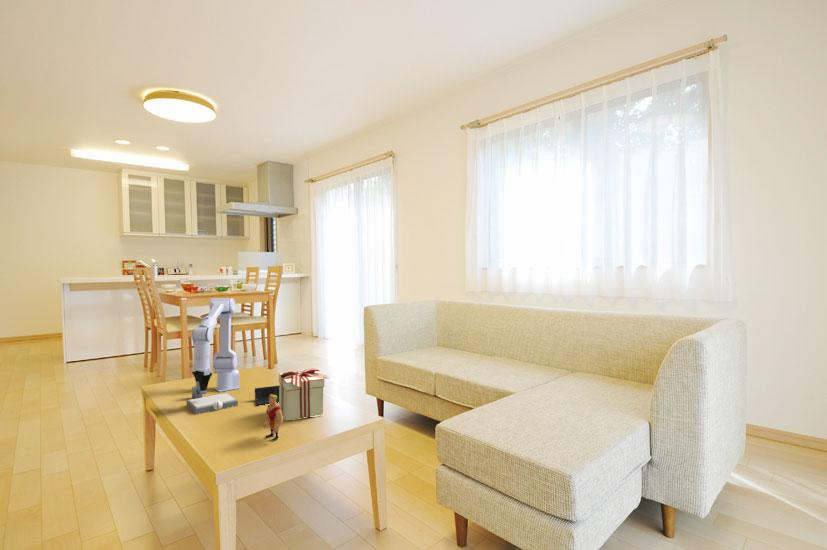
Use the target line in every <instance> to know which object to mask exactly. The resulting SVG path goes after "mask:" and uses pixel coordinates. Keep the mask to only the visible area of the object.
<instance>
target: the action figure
mask: <svg viewBox="0 0 827 550" xmlns="http://www.w3.org/2000/svg"><path fill="white" fill-rule="evenodd" d="M276 398H277V396H276V395H272V394H270V396H269V404H270V405H267V407H266V410H265V411H266V415H265V420H264V422H263V426H262V428H263V429H267V428H269V430H270V434H267V435H265V436H266V437H265V438H268V437H267V436H270V437H273V438H272V439H271V441H272V440H275V439H277V438H278V439H279V436H278V435H279V430H280V427H281V425H282V424H283V422H284V417H283V416H282V412H281V408H280V407H279V404H277V403H276ZM276 419H277V420H278V421H277V425H276ZM268 421H269V427H268ZM273 435H274V436H273ZM278 439H277V440H278ZM275 441H276V440H275Z"/></svg>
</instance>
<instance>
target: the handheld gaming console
mask: <svg viewBox="0 0 827 550" xmlns="http://www.w3.org/2000/svg"><path fill="white" fill-rule="evenodd" d="M279 387H280V385H272V386H264V387H263V386H262V387H256V388H255V387H254V403H255V406H256V407H260V406H259V405H264V406H266V405H265V404H269V396H270V394H272V395H276V396H277V398H276V403H278V402H279Z"/></svg>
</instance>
